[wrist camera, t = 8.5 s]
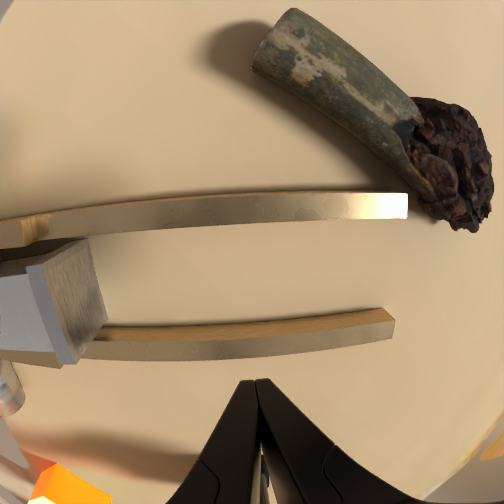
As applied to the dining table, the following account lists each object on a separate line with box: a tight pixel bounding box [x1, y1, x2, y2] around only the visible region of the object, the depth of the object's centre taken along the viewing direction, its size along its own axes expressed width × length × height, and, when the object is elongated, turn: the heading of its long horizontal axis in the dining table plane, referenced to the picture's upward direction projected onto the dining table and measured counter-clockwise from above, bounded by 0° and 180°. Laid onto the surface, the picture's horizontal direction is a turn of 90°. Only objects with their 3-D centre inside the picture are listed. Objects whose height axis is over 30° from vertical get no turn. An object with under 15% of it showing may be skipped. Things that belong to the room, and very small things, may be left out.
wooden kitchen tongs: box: [0, 190, 408, 418], centre depth 15 cm, size 16×36×9 cm, turn 92°
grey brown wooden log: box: [249, 8, 494, 233], centre depth 15 cm, size 18×7×6 cm, turn 55°
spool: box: [0, 238, 108, 365], centre depth 15 cm, size 6×10×6 cm, turn 96°
